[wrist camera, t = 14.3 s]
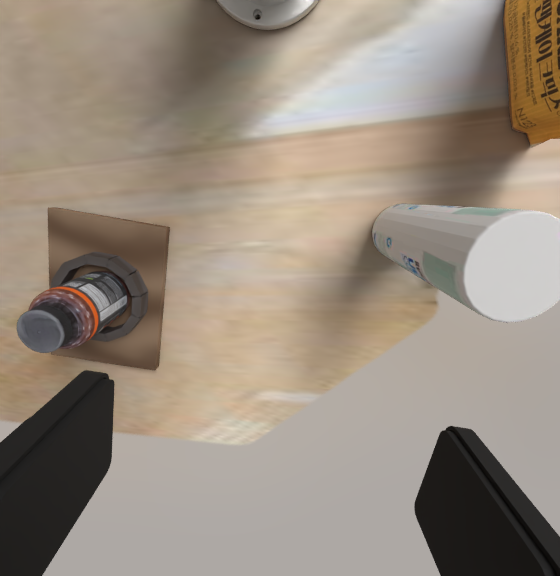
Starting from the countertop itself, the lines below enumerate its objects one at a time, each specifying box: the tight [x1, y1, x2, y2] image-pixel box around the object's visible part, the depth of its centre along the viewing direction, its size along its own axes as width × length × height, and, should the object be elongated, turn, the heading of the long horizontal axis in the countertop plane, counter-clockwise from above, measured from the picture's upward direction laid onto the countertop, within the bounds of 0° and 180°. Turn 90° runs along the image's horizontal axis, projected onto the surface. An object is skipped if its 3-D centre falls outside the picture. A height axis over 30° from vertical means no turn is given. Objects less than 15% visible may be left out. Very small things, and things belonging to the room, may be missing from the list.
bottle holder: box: [48, 208, 170, 370], centre depth 38 cm, size 18×13×3 cm
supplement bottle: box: [17, 271, 130, 353], centre depth 33 cm, size 6×6×11 cm
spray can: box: [372, 204, 560, 323], centre depth 28 cm, size 6×6×20 cm
